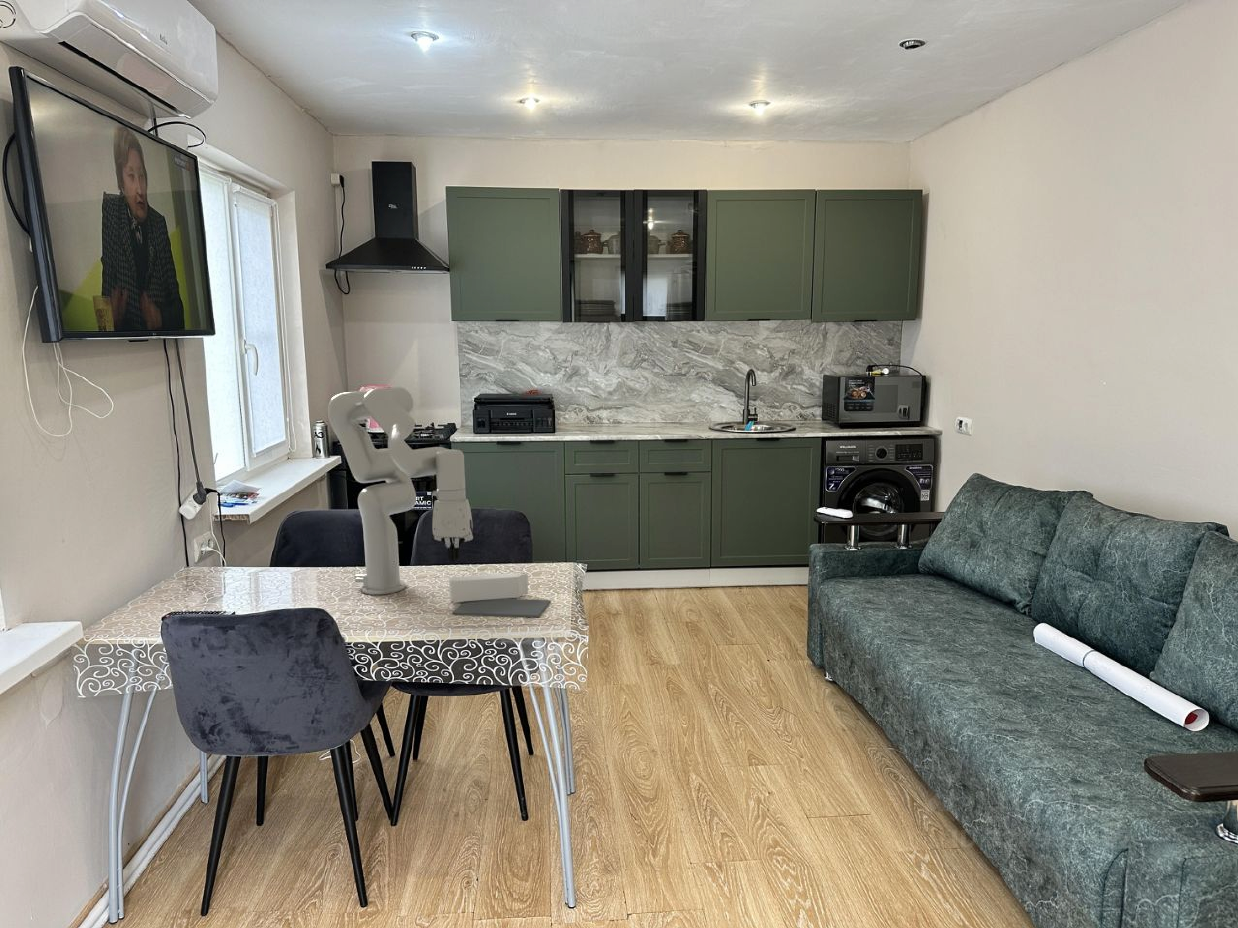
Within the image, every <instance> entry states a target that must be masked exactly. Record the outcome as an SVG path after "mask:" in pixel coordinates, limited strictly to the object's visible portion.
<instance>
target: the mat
mask: <svg viewBox="0 0 1238 928" xmlns="http://www.w3.org/2000/svg"><path fill="white" fill-rule="evenodd" d="M550 603H551V600H550V599H528V598H527V599H526V598H525V599H524V598H517V599H516V598H503V599H490V600H477V601H464V602H461V604H459V605H458V606H457V607H456V608H455V609H454V610H453V611H452V612H451V615H452V616H453V615H455V616H480V617H481V616H483V617H485V616H486V617H504V618H505V617H509V618H511V617H512V618H537V619H538V618H540V617H541V615H542V614H543V613H544V611H545V610H546V609H547V607H548V606H549V605H550Z"/></svg>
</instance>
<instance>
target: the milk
mask: <svg viewBox="0 0 1238 928" xmlns="http://www.w3.org/2000/svg"><path fill="white" fill-rule="evenodd" d="M448 579H449V581H448V583H449V584H448V585H449V587H448V588H449V590H448V591H449V599H450V601H451V603H460V602H461V603H463V602H464V601H477V600H490V599H516V598H517V599H518V598H520V597H522V596H524V595H528V594H529V585H528V584H529V582H528V581H529V577H528V574H527V573H524V574H522V573H516V572H506V573H496V574H494V573H493V574H492V573H491V574H481V575H479V574H478V575H465V576H461V575H460V576H450V577H448Z"/></svg>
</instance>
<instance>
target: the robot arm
mask: <svg viewBox="0 0 1238 928" xmlns="http://www.w3.org/2000/svg"><path fill="white" fill-rule="evenodd" d="M413 408H414V399H413V396H412V394H411V393H410V391H408V390H407V389H406V388H404V387H401V386H394V387H393V386H391V387H377V388H373V389H370V390H365V391H364V390H362V391H360V390H359V391H358V390H357V391H348V392H341V393H338V394H336V395H334V396H333V397H332V398H331V399H330V401H329V403H328V407H327V418H328V421H329V425H330V426H331V429H332V431H333V433H334V434H335V436H336V437H337V439H338V441H339V442H340V445H341V447H342V450H343V453H344V455H345V458H346V461H347V463H348V464H347V465H348V466H349V469H350V471H351V474H352V477H353V478H354V479H355V481H356V482H358V483H360V484H368V483H375V482H381V481H382V482H383V481H385V482H383V483H378V484H373V485H370V486H367V487H365V488H363V489H362V490H361V491H360V492H359V494H358V497H357V505H358V510H359V513H360V517H361V523H362V530H363V542H364V543H363V546H364V557H365V558H364V561H365V574H362V573H361V574H357V573H356V574H355V575H354V582H355V583H362V584H363V585H362V586H361V593H364V594H367V595H388V594H394V593H397V592H400V591H402V590H404V589H406V582H405V581H404V580H401V576H400V574H401V573H400V562H399V561H400V559H399V541H398V540H399V539H398V530H397V529H398V528H397V527H396V524H395V522H393V520H392V519H391V517H390V516H391V515H394V514H399V513H404V512H408V511H410V510H411V509H413V508H414V506H415V505H416V502H417V493H416V490H415V487H414V484H413V482H412V478H414V479H415V478H416V479H417V478H421V477H422V478H423V477H427V476H434V475H436V490H433V491H432V496H434V497H436V499H437V500H436V499H435V500H434V502H433V511H432V535H433V538H434V540H436V541H439V542H442V543H443V544H444V546H445V547H446V548H447V558H448V559H449V562H450V563H457V562H458V561H460V559H461V557H462V556H461V555H462V553H461V546H462V545H463V544H464V543H465V542H470V541H472V540H473V539H474V536H473V530H474V529H473V528H474V526H473V518H472V511H471V505H470V502H469V499H467V497H466V473H465V456H464V455H465V454H464V453H463V451H462V450H460V449H456V448H455V449H449V448H445V447H442V446H433V447H425V448H417V449H412V448H411V447H410V446H409V445H408V444H407V443H406V441H405V439H407V438H408V437H409V436H410V435H411V434H412V433H413V431H414V430H415V428H416V427H415V426H416V422H415V419H414V417H413V416H412V415H411V414H410V413H411V412H412V410H413ZM362 420H374V422H375V423H376V424H377V425H378V426H379V427H380V428H381V429H382V431H383V432H384V433H385V434H386V435H387V437H388V439H387V448H379V449H378V448H376V447H375V445H374V443H373V442H372V438H371V435H370V434H369V433H368V432H367V430H366V429H365V428H364V427H363V426H361V425H360V424H359V423H358V422H357V421H362Z"/></svg>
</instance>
